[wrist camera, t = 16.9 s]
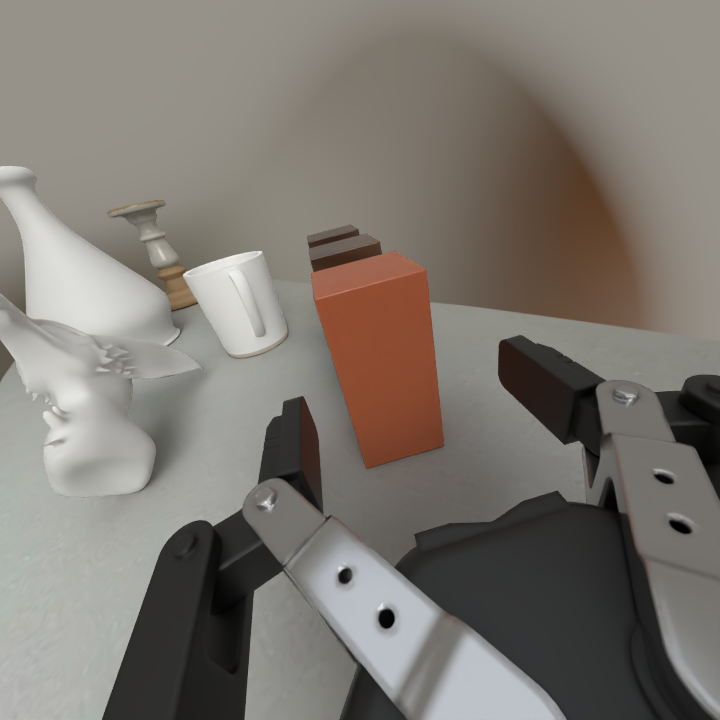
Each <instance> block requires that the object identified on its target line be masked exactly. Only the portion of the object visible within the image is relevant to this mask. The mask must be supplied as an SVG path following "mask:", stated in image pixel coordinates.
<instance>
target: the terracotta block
mask: <svg viewBox="0 0 720 720" xmlns="http://www.w3.org/2000/svg"><path fill="white" fill-rule="evenodd" d="M311 278H312V286H313V295H314V301H315V305H316V308H317V311H318V314H319V317H320V321H321V324H322V327H323V330H324V334H325V337H326V340H327V343H328V346H329V350H330V353H331V356H332V359H333V363H334V366H335V369H336V372H337V375H338V379H339V382H340V385H341V388H342V392H343V395H344V398H345V401H346V404H347V408H348V411H349V414H350V417H351V421H352V424H353V427H354V430H355V433H356V437H357V440H358V443H359V446H360V450H361V453H362V456H363V459H364V462H365V466H366V468H371V467H374V466H377V465H381V464H384V463H388V462H391V461H394V460H398V459H401V458H405V457H408V456H411V455H415V454H418V453H421V452H425V451H428V450H432V449H435V448H438V447H442V446H444V438H443V429H442V419H441V409H440V399H439V389H438V380H437V370H436V360H435V350H434V340H433V331H432V321H431V311H430V301H429V292H428V282H427V272H426V269H425V268H423V267H422V266H420V265H418V264H416V263H415V262H413V261H411V260H410V259H408V258H406V257H404V256H403V255H401V254H399V253H398V252H396V251H392V252H388V253H385V254H381V255H377V256H373V257H369V258H366V259H362V260H358V261H354V262H351V263H347V264H343V265H339V266H336V267H332V268H328V269H324V270H321V271H317V272H313V273H311Z"/></svg>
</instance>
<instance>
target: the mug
mask: <svg viewBox="0 0 720 720" xmlns="http://www.w3.org/2000/svg"><path fill="white" fill-rule="evenodd" d="M183 278H184V280H185V281H186V283H187V285H188V286H189V288H190V290H191V291H192V293H193V295H194V297H195V298H196V300H197V302H198V303H199V305H200V307H201V309H202V310H203V312H204V314H205V315H206V317H207V319H208V321H209V322H210V324H211V326H212V327H213V329H214V331H215V332H216V334H217V336H218V338H219V339H220V341H221V343H222V344H223V346H224V348H225V350H226V351H227V353H228V354H229V355H230V356H232V357H235V358H246V357H252V356H255V355H259V354H261V353H264V352H266V351H269V350H271V349H272V348H274V347H276V346H277V345H279V344H280V343H282V342H283V341H284V340H285V338H286V337H287V335H288V329H287V326H286V323H285V320H284V317H283V314H282V311H281V307H280V304H279V301H278V298H277V295H276V292H275V289H274V286H273V283H272V280H271V277H270V274H269V270H268V267H267V264H266V261H265V258H264V255H263V252H261V251H254V252H247V253H243V254H238V255H234V256H230V257H226V258H223V259H220V260H216V261H213V262H210V263H207V264H204V265H202V266H199V267H197V268H194V269H192V270H190V271H188V272H186V273H185V274H183Z"/></svg>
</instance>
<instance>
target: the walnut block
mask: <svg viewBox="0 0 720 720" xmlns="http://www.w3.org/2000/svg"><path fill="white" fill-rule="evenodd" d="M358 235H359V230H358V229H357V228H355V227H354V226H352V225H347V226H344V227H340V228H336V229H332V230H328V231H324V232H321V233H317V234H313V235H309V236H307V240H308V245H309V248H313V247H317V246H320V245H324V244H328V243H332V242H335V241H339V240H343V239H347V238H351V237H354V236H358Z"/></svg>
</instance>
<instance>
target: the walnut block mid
mask: <svg viewBox="0 0 720 720" xmlns="http://www.w3.org/2000/svg"><path fill="white" fill-rule="evenodd" d="M381 254H382V251H381V246H380V242H379V241H378V240H376V239H374V238H373V237H371V236H369V235H368V234H362V235H358V236H354V237H351V238H347V239H343V240H339V241H335V242H332V243H328V244H324V245H320V246H317V247H313V248H309V255H310V261H311V265H312V268H313V271H314V272H317V271H321V270H324V269H328V268H332V267H336V266H339V265H343V264H347V263H351V262H354V261H358V260H362V259H366V258H369V257H373V256H377V255H381Z"/></svg>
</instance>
